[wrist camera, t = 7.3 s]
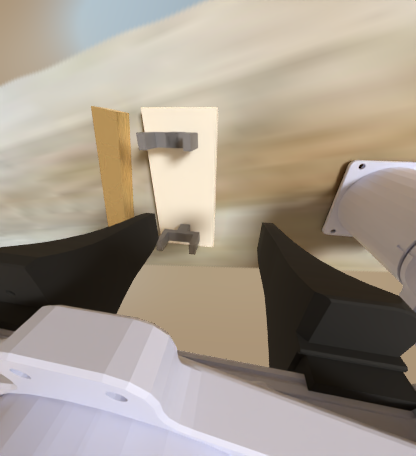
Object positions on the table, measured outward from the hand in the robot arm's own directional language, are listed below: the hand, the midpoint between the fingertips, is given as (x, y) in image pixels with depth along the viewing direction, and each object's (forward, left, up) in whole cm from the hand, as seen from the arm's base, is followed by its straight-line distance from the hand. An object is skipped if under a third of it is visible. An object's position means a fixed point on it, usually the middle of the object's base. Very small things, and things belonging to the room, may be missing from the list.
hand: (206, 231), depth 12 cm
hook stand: (+4, 0, -9) cm, 10 cm away
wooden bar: (+12, 0, -10) cm, 15 cm away
